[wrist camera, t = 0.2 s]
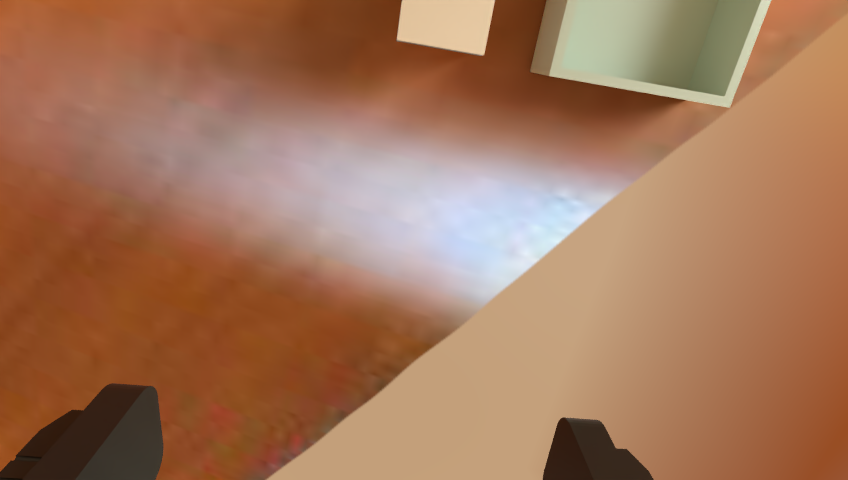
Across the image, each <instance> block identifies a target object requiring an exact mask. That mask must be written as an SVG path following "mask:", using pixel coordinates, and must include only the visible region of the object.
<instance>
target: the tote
mask: <svg viewBox="0 0 848 480" xmlns="http://www.w3.org/2000/svg"><path fill="white" fill-rule="evenodd" d="M770 2H771V0H546V4H545V9H544V13H543V17H542V22H541V26H540V30H539V35H538V39H537V43H536V48H535V52H534V56H533V61H532V65H531V69H530V72H532V73H537V74H542V75H546V76H552V77H557V78H563V79H569V80H575V81H580V82H586V83H592V84H597V85H603V86H609V87H614V88H620V89H626V90H632V91H637V92H643V93H649V94H654V95H660V96H666V97H672V98H677V99H683V100H689V101H694V102H700V103H706V104H711V105H717V106H723V107H729V108H730V105H731V103H732V100H733V98H734V95H735V92H736V90H737V87H738V85H739V82H740V80H741V77H742V74H743V72H744V69H745V67H746V64H747V61H748V59H749V56H750V54H751V51H752V49H753V46H754V43H755V41H756V38H757V36H758V33H759V31H760V28H761V25H762V23H763V20H764V18H765V15H766V12H767V10H768V7H769V5H770Z"/></svg>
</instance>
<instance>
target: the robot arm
mask: <svg viewBox="0 0 848 480" xmlns="http://www.w3.org/2000/svg"><path fill="white" fill-rule="evenodd" d="M162 456H163V439H162V430H161V421H160V412H159V404H158V395H157V391H156V389H155V388H154V387H152V386H141V385H127V384H109V385H107V386H106V387H104V388H103V389H102V390H101V391H100V393H99V394H98V395H97V396H96V397H95V398H94V399H93V400H92V402H91V403H90V404H89V405H88V406H87V407H86V408H85V409H84V411H81V410H71V411H69V412H68V413H66V414H65V415H63V416H62V417H60V418H58V419H57V420H55V421H54V422H52V423H51V424H49V425H47V426H46V427H44V428H43V429H41V430H40V431H39V432H38V433H37V434H36V435H35V436H34V437H33V438H32V439H31V440H30V441H29V442H28V443H27V444H26V445H25V447H24V448H23V449H22V450H21V451H20V452H19V453H18V454H17V455H16V458H15V460H14V461H10V462H9V463H8V464H7V465H6V466H5V468H4V469H3V470H2V471H1V472H0V480H155V479H156V476H157V474H158V471H159V469H160V465H161V461H162ZM543 480H653V478H652V476H651V474H650V473H649V471H648V470H647V469H646V468H645V467H644V466H643V465H642V464H641V463H640V462H639V461H638V460H637V459H636V458H635V457H634V456H633V455H632V454H631V453H630V452H629V451H628V450H627V449H616V448H615V446H614V444H613V442H612V440H611V438H610V436H609V434H608V432H607V430H606V429H605V427H604V425H603V424H602V422H600V421H598V420H590V419H575V418H561V419H560V420H559V422H558V424H557V428H556V431H555V435H554V438H553V442H552V445H551V449H550V452H549V456H548V459H547V463H546V467H545V470H544V475H543Z"/></svg>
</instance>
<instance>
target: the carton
mask: <svg viewBox="0 0 848 480" xmlns="http://www.w3.org/2000/svg"><path fill="white" fill-rule="evenodd" d="M494 3H495V0H402V2H401V9H400V17H399V24H398V32H397V40H396V41H399V42H404V43H410V44H416V45H421V46H427V47H432V48H438V49H444V50H449V51H455V52H461V53H466V54H472V55H478V56H482V55H484V54H485V48H486V43H487V38H488V33H489V28H490V23H491V18H492V13H493V8H494Z"/></svg>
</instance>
